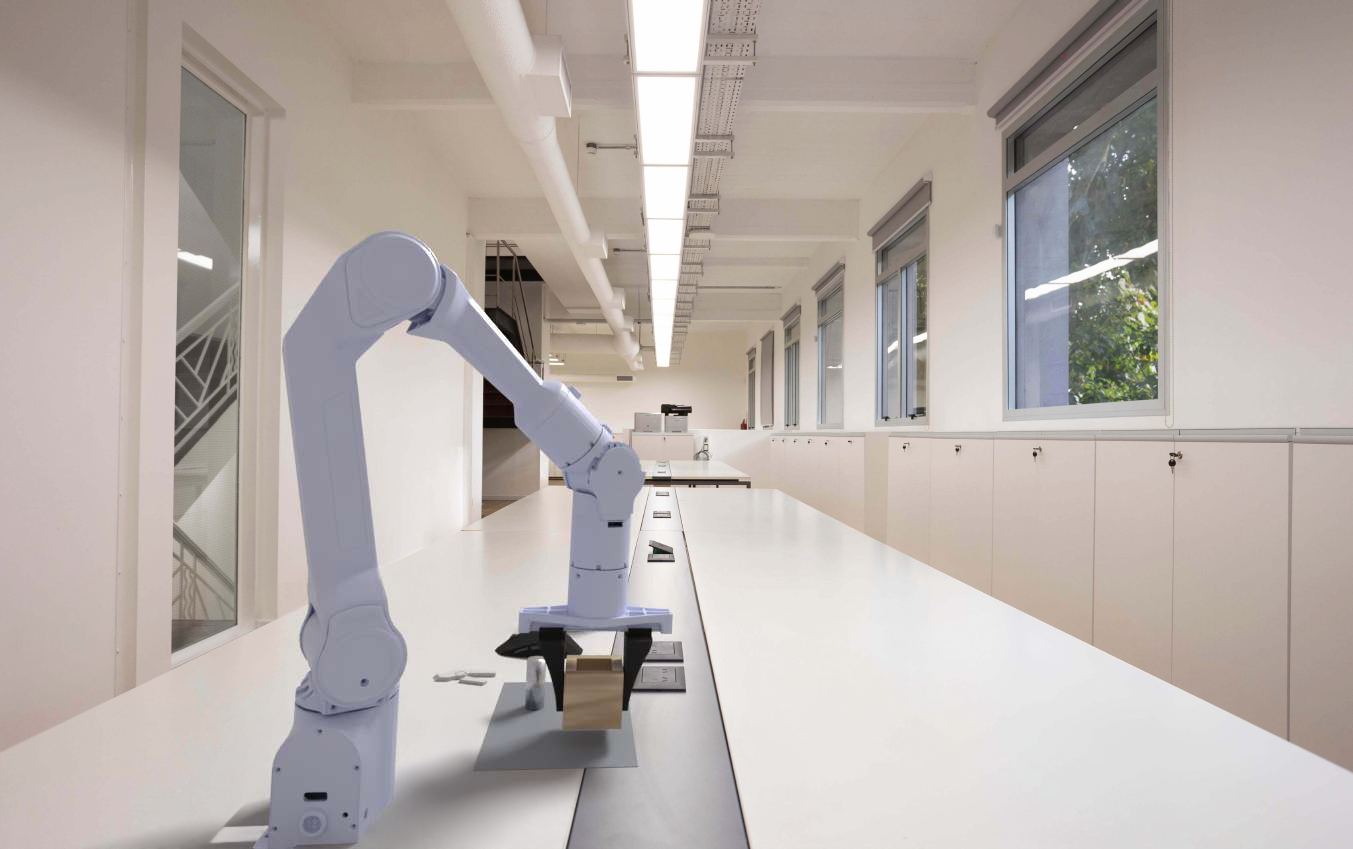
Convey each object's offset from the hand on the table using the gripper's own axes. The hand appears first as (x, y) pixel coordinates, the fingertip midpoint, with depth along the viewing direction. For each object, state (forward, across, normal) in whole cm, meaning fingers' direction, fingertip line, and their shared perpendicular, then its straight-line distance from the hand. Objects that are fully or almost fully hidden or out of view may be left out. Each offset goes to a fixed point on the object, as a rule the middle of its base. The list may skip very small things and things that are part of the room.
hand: (592, 706), depth 62 cm
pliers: (+4, +19, -17) cm, 26 cm away
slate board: (+4, +3, -4) cm, 6 cm away
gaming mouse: (+4, +8, -26) cm, 27 cm away
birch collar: (+1, 0, 0) cm, 1 cm away
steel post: (+3, +6, -7) cm, 10 cm away
